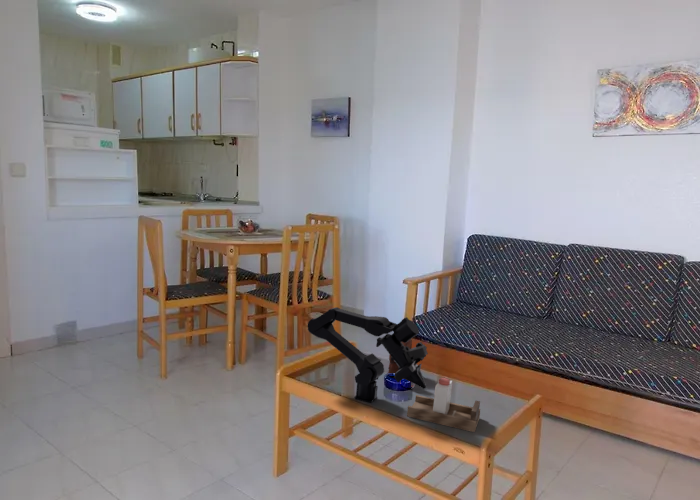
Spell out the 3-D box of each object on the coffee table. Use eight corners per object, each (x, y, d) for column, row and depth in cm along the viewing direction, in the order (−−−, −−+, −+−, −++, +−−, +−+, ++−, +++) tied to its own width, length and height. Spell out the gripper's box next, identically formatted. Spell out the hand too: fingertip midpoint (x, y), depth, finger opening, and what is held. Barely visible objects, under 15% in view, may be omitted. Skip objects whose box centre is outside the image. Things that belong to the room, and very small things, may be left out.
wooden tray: (406, 416, 168) (408, 398, 167) (415, 403, 179) (417, 386, 179) (474, 432, 160) (476, 413, 160) (479, 418, 171) (481, 400, 171)
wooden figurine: (396, 368, 215) (400, 327, 213) (410, 372, 212) (414, 330, 210) (384, 376, 205) (388, 332, 203) (399, 380, 202) (403, 335, 200)
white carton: (432, 415, 167) (435, 382, 166) (437, 406, 175) (440, 375, 173) (444, 418, 165) (448, 385, 164) (449, 409, 173) (452, 377, 172)
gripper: (407, 342, 163) (438, 383, 160) (420, 330, 180) (448, 366, 177) (381, 362, 166) (411, 402, 164) (397, 348, 184) (424, 384, 181)
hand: (425, 387), depth 171 cm, fingers closed
